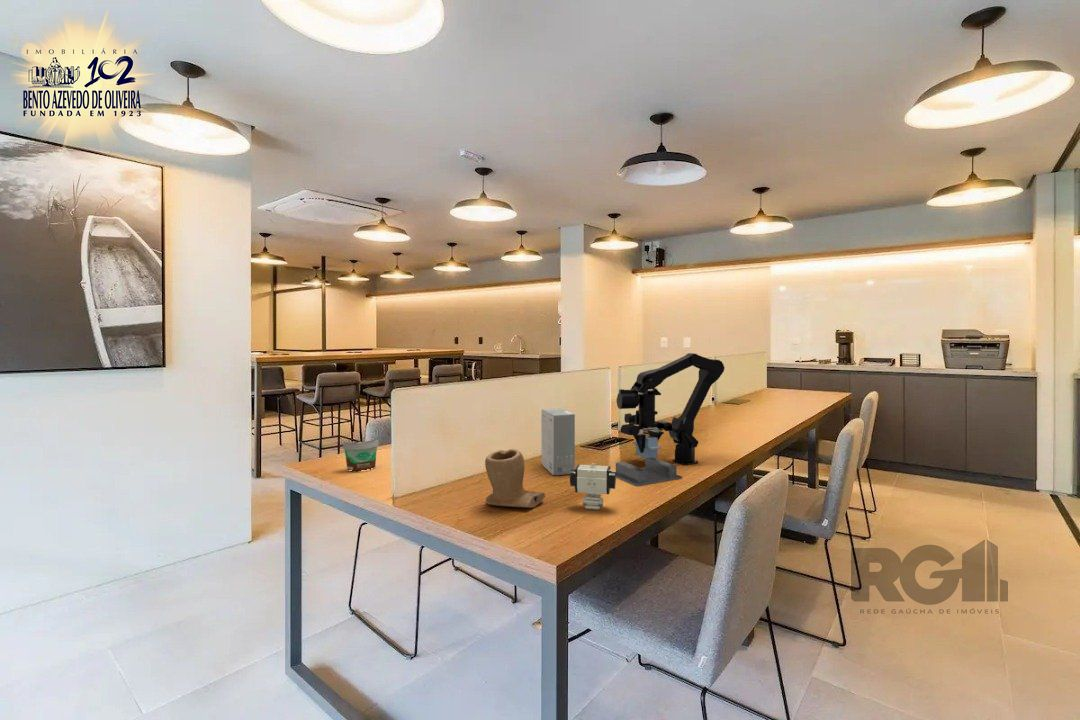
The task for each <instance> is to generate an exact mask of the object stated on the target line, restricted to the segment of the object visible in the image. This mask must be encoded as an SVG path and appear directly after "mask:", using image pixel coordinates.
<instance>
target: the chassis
mask: <svg viewBox="0 0 1080 720" xmlns="http://www.w3.org/2000/svg"><path fill="white" fill-rule="evenodd" d="M615 472H616V479H619V480H621V481H623V482H625V483H628V484H629V485H632V486H635V487H641V486H648V485H652V484H658V483H659V484H660V483H665V482H670V480H671V481H676V480H675V479H677V480H681V479H680V478H682V479H683V476H681V475H679V474H677V465H675V464H672V463H670V462H667V461H663V460H662V459H658V458H653V457H651V458H644V467H638V466H637V465H633V464H630V463H628V462H626V461H618V462H615Z"/></svg>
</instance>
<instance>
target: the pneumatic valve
mask: <svg viewBox="0 0 1080 720" xmlns="http://www.w3.org/2000/svg"><path fill="white" fill-rule="evenodd" d="M616 481H617V478H616V471H612V469H611V465H598V464H597V465H596V463H595V462H594V463H593V462H591V464H577V465H576V466H575V470H571V472H570V474H569V485H570V487H573V489H575V491H574V492H575V493H580V494H581V493H582V494H583V493H584V494H585V493H586V496H585V495H584V496H582V506H585V509H586V510H591V511H593V510H594V511H599V510H600V509H601V508H603V507H604V497H602V495H610V492H611V489H612V490H615V489H616V485H617V483H616Z"/></svg>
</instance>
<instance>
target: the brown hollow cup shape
mask: <svg viewBox="0 0 1080 720" xmlns="http://www.w3.org/2000/svg"><path fill="white" fill-rule="evenodd" d="M484 465H485V470H486V471H485V472H486V474H487V478H488V480H489V483H490V485H491V488H492V493H491V494H489V495H487V496H486V497H485V503H486V504H487V505H489V506H498V507H509V508H510V507H511V508H512V507H513V508H536V507H537V506H538V505H539V504H541V502H542V501H543V500H544V498H545V497H546V493H545V492H543V491H531V490H525V488H524V484H523V483H524V476H525V458H524V456H523V454H522V452H521V451H520V450H518V449H514V448H512V449H511V448H509V449H507V450H502V449H501V450H496V451H493V452H491V453H490V454H488V455H487V456H486V458H485V461H484Z"/></svg>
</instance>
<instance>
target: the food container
mask: <svg viewBox="0 0 1080 720" xmlns="http://www.w3.org/2000/svg"><path fill="white" fill-rule="evenodd" d="M379 445H380V443H379V440H378V438H377V437H375V439H374V440H366V441H365V440H362V441H357V442H351V443H349V442H343V444H342V450H343V449H344V456H345V461H346V469H347V470H352V471H361V470H367V469H371V468H374V467H375V468H376V464H377V463H376V461H377V450H378V449H377V448H378V446H379ZM375 468H374V469H375Z"/></svg>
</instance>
